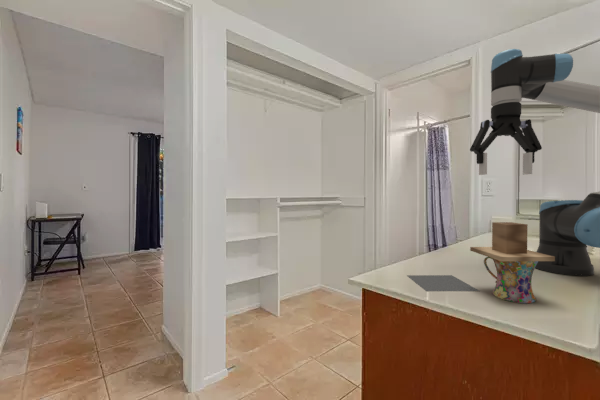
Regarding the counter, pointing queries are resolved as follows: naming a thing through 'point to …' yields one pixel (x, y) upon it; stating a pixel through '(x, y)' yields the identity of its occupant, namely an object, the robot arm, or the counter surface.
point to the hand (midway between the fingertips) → (505, 174)
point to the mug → (513, 280)
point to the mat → (441, 283)
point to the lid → (510, 244)
